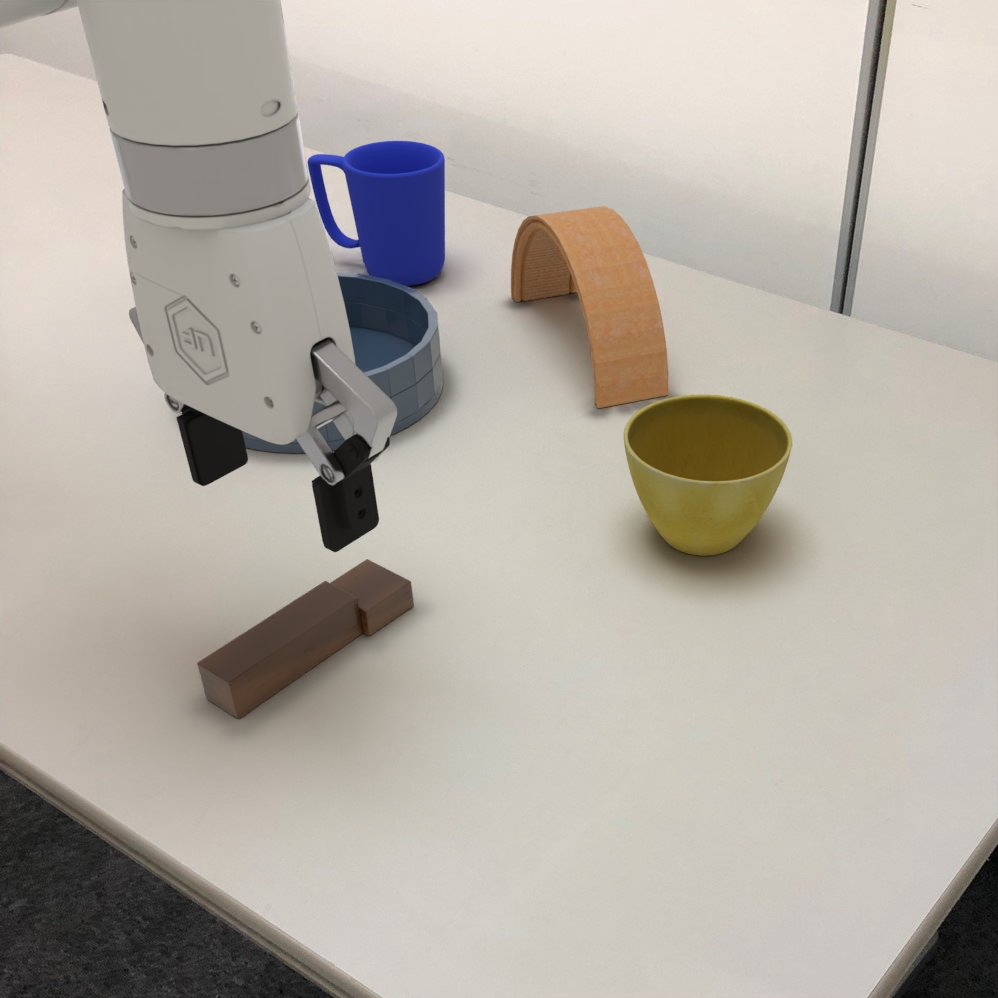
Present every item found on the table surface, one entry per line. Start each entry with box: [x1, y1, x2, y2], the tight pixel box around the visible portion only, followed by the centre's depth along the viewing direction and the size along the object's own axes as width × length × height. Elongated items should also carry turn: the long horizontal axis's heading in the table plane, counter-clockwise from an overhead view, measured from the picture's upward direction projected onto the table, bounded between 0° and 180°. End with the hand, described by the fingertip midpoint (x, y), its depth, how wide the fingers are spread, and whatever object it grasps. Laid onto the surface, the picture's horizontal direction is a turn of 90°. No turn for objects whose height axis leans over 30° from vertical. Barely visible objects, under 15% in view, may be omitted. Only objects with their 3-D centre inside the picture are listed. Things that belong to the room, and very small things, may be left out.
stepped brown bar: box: [196, 559, 415, 720], centre depth 70 cm, size 4×13×3 cm, turn 144°
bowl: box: [242, 271, 444, 454], centre depth 91 cm, size 18×18×5 cm
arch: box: [510, 205, 669, 409], centre depth 96 cm, size 6×20×10 cm, turn 22°
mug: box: [306, 140, 446, 287], centre depth 106 cm, size 8×12×10 cm
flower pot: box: [623, 394, 793, 557], centre depth 77 cm, size 10×10×7 cm
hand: (285, 504), depth 64 cm, fingers open, 9 cm apart
